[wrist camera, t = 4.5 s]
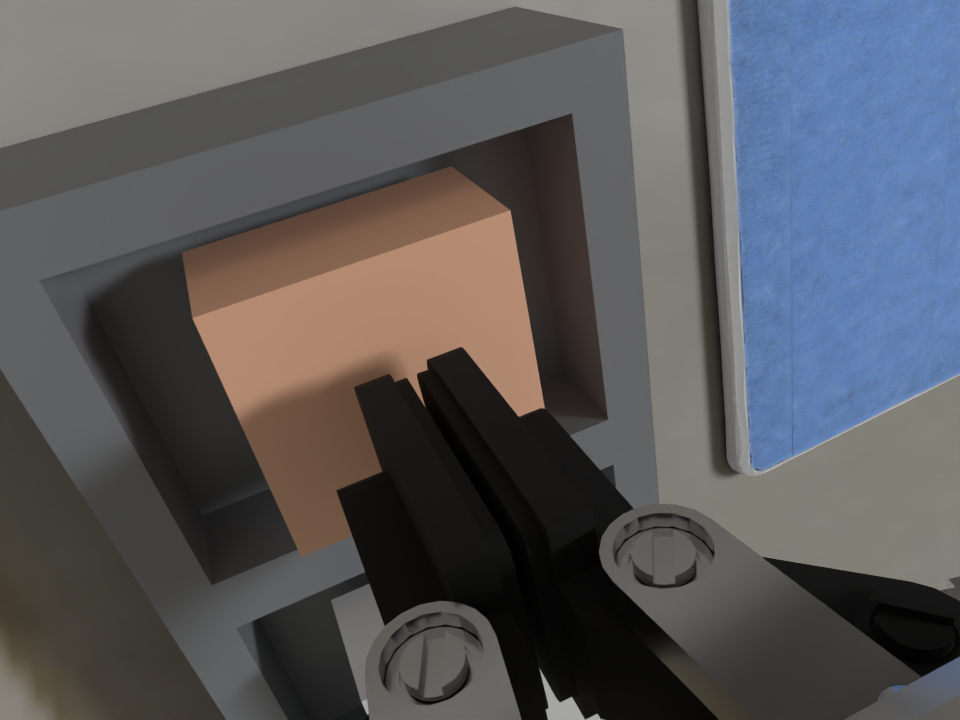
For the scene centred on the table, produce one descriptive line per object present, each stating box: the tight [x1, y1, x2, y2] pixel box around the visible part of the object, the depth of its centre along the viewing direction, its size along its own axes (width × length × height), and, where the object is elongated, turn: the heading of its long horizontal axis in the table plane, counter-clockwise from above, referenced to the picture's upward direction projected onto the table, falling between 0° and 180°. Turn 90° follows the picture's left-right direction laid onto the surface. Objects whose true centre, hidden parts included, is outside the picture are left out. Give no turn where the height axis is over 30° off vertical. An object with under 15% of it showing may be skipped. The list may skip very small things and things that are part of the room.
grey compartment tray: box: [0, 7, 659, 720], centre depth 18 cm, size 23×10×4 cm, turn 11°
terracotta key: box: [182, 166, 545, 557], centre depth 13 cm, size 5×5×2 cm
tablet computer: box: [697, 0, 960, 476], centre depth 20 cm, size 19×13×1 cm, turn 14°
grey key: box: [331, 584, 603, 720], centre depth 16 cm, size 5×5×2 cm
